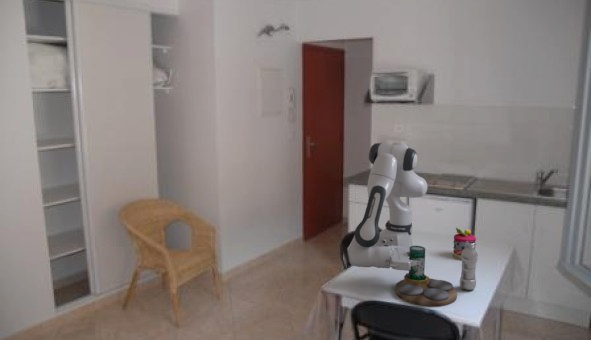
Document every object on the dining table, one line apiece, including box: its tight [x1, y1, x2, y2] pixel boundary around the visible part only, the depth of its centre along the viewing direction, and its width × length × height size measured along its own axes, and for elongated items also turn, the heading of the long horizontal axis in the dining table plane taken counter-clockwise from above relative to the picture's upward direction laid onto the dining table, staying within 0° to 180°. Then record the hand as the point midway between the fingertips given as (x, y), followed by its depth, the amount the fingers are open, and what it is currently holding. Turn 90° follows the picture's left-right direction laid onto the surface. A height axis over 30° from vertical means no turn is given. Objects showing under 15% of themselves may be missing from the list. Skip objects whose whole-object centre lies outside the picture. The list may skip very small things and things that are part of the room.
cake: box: [452, 227, 477, 261], centre depth 233 cm, size 10×10×15 cm
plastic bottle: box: [459, 241, 479, 291], centre depth 195 cm, size 6×7×20 cm
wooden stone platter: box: [395, 272, 458, 307], centre depth 192 cm, size 24×24×4 cm
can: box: [408, 245, 426, 281], centre depth 197 cm, size 6×6×15 cm
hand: (419, 258), depth 196 cm, fingers open, 8 cm apart
